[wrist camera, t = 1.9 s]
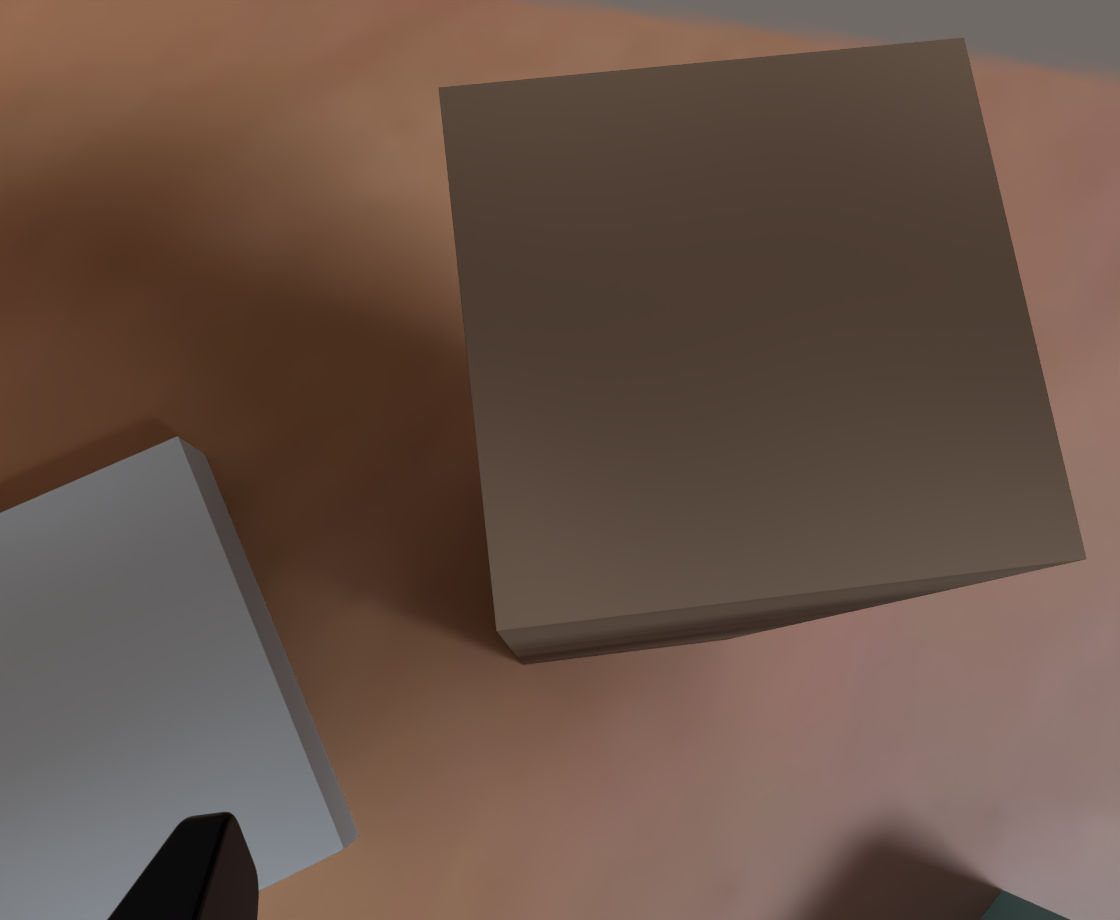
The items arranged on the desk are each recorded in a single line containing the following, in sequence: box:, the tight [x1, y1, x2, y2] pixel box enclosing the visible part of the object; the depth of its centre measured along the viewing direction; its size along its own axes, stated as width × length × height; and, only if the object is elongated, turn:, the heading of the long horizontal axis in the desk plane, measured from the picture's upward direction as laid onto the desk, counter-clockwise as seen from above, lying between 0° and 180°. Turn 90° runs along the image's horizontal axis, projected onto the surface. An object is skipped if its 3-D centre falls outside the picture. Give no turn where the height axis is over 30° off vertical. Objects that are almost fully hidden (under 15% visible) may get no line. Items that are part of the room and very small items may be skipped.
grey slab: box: [0, 436, 360, 920], centre depth 18 cm, size 8×8×2 cm
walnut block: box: [439, 38, 1086, 665], centre depth 13 cm, size 4×4×13 cm
